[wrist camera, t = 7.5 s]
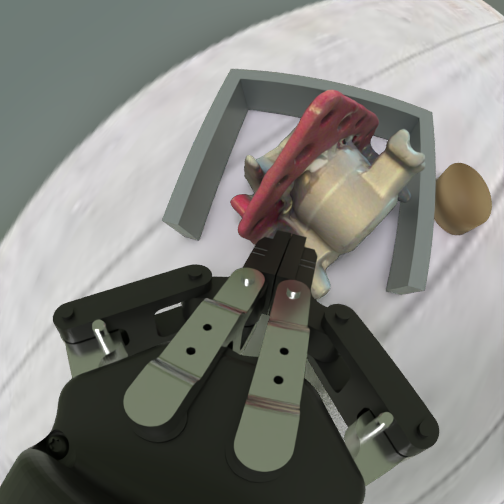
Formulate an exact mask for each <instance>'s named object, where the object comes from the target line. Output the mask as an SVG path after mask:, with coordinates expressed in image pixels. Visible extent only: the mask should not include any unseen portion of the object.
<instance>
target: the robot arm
mask: <svg viewBox="0 0 504 504" xmlns="http://www.w3.org/2000/svg"><path fill="white" fill-rule="evenodd" d="M291 235H292V237H291ZM306 238H307V237H304V236H300V235H296V234H292V233H288V232H284V231H280V230H277V232H276V234H275V236H274V238H273V239H272V238H268V237H264V238H262V239H260V240H259V241H258V242H257V243H256V245H255V247H254V249H253V250H252V253H251V254H250V256H249V257H248V259H247V261H246V263H245V264H244V266H243V268H240V269H237V270H235V271H234V272H233V273H232V274H231V276H230V277H212V273H211V271H210V270H209V269H208V268H207V267H205V266H202V265H188V266H185V267H182V268H178V269H175V270H172V271H169V272H165V273H162V274H159V275H155V276H152V277H149V278H146V279H142V280H139V281H136V282H133V283H129V284H126V285H123V286H119V287H116V288H113V289H110V290H106V291H103V292H100V293H97V294H94V295H90V296H87V297H84V298H81V299H77V300H74V301H71V302H68V303H65V304H63V305H61V306H60V307H58V308H57V310H56V311H55V313H54V315H53V322H54V324H55V326H56V328H57V330H58V332H59V333H60V336H61V338H62V340H63V342H64V343H65V345H66V350H67V355H68V360H69V365H70V370H71V374H72V379H71V380H70V381H69V382H68V383H67V384H66V385H65V386H64V388H63V389H62V391H61V393H60V397H59V401H58V409H57V415H56V419H55V423H54V425H53V428H52V430H51V432H50V433H49V435H48V436H47V437H45V438H44V439H43V440H42V441H40V442H39V443H37V444H36V445H34V446H32V447H30V448H28V449H26V450H25V451H23V452H22V453H21V454H20V455H19V456H18V458H17V459H16V461H15V463H14V464H13V466H12V468H11V469H10V471H9V473H8V474H7V476H6V478H5V479H4V481H3V483H2V484H1V486H0V504H362V503H363V501H364V497H365V486H367V485H368V484H370V483H371V482H373V481H374V480H376V479H377V478H379V477H380V476H382V475H383V474H385V473H386V472H388V471H389V470H391V469H392V468H393V467H395V466H396V465H398V464H399V463H401V462H403V461H405V460H407V459H409V458H411V457H413V456H415V455H417V454H419V453H421V452H423V451H424V450H426V449H428V448H430V447H431V446H433V445H434V444H435V443H436V441H437V439H438V436H439V426H438V423H437V421H436V420H435V418H434V417H433V415H432V414H431V412H430V411H429V410H428V408H427V407H426V405H425V404H424V403H423V401H422V400H421V398H420V397H419V396H418V394H417V393H416V391H415V390H414V389H413V387H412V386H411V385H410V383H409V382H408V380H407V379H406V378H405V376H404V375H403V374H402V372H401V371H400V370H399V368H398V367H397V366H396V364H395V363H394V362H393V360H392V359H391V358H390V356H389V355H388V354H387V352H386V351H385V350H384V349H383V347H382V346H381V345H380V343H379V342H378V341H377V339H376V338H375V337H374V336H373V334H372V333H371V332H370V330H369V329H368V328H367V327H366V325H365V324H364V323H363V322H362V320H361V319H360V318H359V317H358V315H357V314H356V313H355V312H354V311H353V310H352V309H351V308H349V307H348V306H345V305H342V304H333V305H330V306H329V307H325V306H323V305H321V304H320V303H318V302H317V301H316V300H315V299H314V298H313V296H312V294H311V286H312V282H313V277H314V272H315V267H316V262H317V257H318V256H317V254H316V252H315V249H311V248H307V247H305V243H306ZM180 302H181V305H182V306H179V307H176V308H174V309H171V310H168V311H165V312H162V313H159V314H156V315H154V314H155V313H156V312H157V311H158V310H160V309H163V308H166V307H169V306H172V305H174V304H177V303H180ZM269 308H270V310H269ZM268 311H269V316H270V318H269V321H268V324H267V328H266V332H265V336H264V340H263V343H262V347H261V351H260V354H259V357H249V356H242V353H243V351H244V349H245V347H246V345H247V343H248V342H249V340H250V338H251V336H252V334H253V332H254V330H255V328H256V326H257V322H258V320H259V319H260V316H261V314H266V315H267V313H268ZM306 358H308V361H309V363H310V364H311V366H312V368H313V369H314V371H315V373H316V374H317V376H318V378H319V380H320V381H321V383H322V385H323V386H324V388H325V390H326V391H327V393H328V395H329V396H330V398H331V400H332V401H333V403H334V405H335V406H336V408H337V410H338V411H339V413H340V415H341V416H342V418H343V419H344V421H345V423H346V424H347V426H348V428H347V430H346V432H345V435H344V441H345V442H344V441H343V439H342V437H341V435H340V433H339V431H338V429H337V428H336V426H335V424H334V422H333V420H332V418H331V416H330V414H329V413H328V411H327V409H326V407H325V405H324V403H323V401H322V399H321V398H320V396H319V394H318V392H317V391H316V390H315V388H314V387H313V386H312V385H311V384H310V383H309V382H308V381H307V380H306V379H305V378H304V373H305V365H306Z"/></svg>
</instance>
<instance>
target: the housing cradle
mask: <svg viewBox="0 0 504 504" xmlns="http://www.w3.org/2000/svg"><path fill="white" fill-rule="evenodd" d="M327 90H336V91H339V92H340V93H342V94H343V95H345V96H347V97H349V98H351V99H352V100H355V101H356V102H357V103H359V104H361V105H363V106H364V107H365V108H366V109H367V110H369V111H371V112H373V113H374V114H376V116H377V118H378V120H379V124H378V127H377V128H376V130H375V133H374V135H375V136H378V137H381V138H384V139H388V140H389V138H390V137H391V136H393V135H394V134H395V133H397V132H398V131H399V130H402V129H405V130H407V131H408V132H409V135H410V145H411V148H412V149H413V150H414V151H415V152H419V153H423V154H424V155H425V161H424V162H425V168H424V170H423V171H421V172H418V173H416V174H415V175H414V176H413V177H412V178H411V180H410V181H409V182H408V183H407V184H406V187H407V189H408V190H409V192H410V194H411V198H410V200H409V201H408V202H406V203H403V202H400V211H399V219H398V227H397V234H396V241H395V247H394V253H393V259H392V264H391V269H390V274H389V279H388V284H387V289H386V291H388V292H391V293H395V294H399V295H403V294H409V293H414V292H420V291H425V287H426V281H427V275H428V269H429V262H430V254H431V246H432V237H433V226H434V212H435V187H436V165H435V140H434V126H433V116H432V112H430V111H428V110H425V109H423V108H420V107H418V106H415V105H412V104H409V103H407V102H404V101H401V100H398V99H395V98H392V97H389V96H386V95H382V94H379V93H376V92H372V91H369V90H365V89H361V88H357V87H353V86H349V85H345V84H341V83H336V82H332V81H327V80H322V79H317V78H311V77H305V76H299V75H292V74H285V73H277V72H268V71H257V70H244V69H231V70H230V72H229V73H228V75H227V77H226V79H225V81H224V83H223V84H222V86H221V88H220V90H219V92H218V94H217V96H216V98H215V100H214V102H213V104H212V106H211V108H210V110H209V112H208V114H207V116H206V118H205V120H204V122H203V124H202V126H201V128H200V130H199V132H198V135H197V137H196V139H195V141H194V143H193V146H192V148H191V150H190V152H189V155H188V157H187V159H186V161H185V164H184V166H183V168H182V171H181V173H180V176H179V178H178V180H177V183H176V185H175V188H174V190H173V193H172V195H171V198H170V201H169V203H168V206H167V208H166V211H165V214H164V216H163V219H162V221H163V222H165V223H166V224H167V225H169V226H170V227H172V228H173V229H175V230H176V231H177V232H179V233H180V234H182V235H183V236H184V237H187V238H191V239H195V240H198V241H199V239H200V236H201V233H202V230H203V227H204V224H205V221H206V218H207V216H208V213H209V210H210V207H211V204H212V201H213V199H214V196H215V193H216V190H217V188H218V185H219V182H220V179H221V177H222V174H223V171H224V169H225V166H226V163H227V161H228V158H229V156H230V153H231V151H232V148H233V145H234V143H235V140H236V138H237V135H238V133H239V130H240V128H241V125H242V123H243V121H244V118H245V116H246V113H247V111H248V109H249V110H257V111H264V112H271V113H278V114H284V115H290V116H295V117H300V118H301V117H302V115H303V114H304V112H305V110H306V109H307V107H308V106H309V104H310V103H311V102H312V101H313V100H314V99H315V98H316V97H317V96H318V95H320V94H321V93H323V92H325V91H327Z"/></svg>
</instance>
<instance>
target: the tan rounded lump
mask: <svg viewBox="0 0 504 504" xmlns="http://www.w3.org/2000/svg"><path fill="white" fill-rule="evenodd" d="M491 208H492V201H491V195H490V192H489V189H488V187H487V185H486V183H485V181H484V180H483V178H482V177H481V176H480V174H479V173H478V172H477V171H476V170H475V169H473V168H472V167H470V166H468V165H466V164H463V163H454V164H452V165H450V166H449V167H448V168H447V169H446V170H445V171H444V172H443V173H442V175H441V176H440V177H439V178H438V179H437V180H436V187H435V212H434V219H435V221H436V222H437V224H438V225H439V226H440V227H441V228H442V229H443V230H445V231H446V232H448V233H450V234H453V235H462V234H464V233H466V232H468V231H470V230H472V229H474V228H476V227H477V226H479V225H481V224H483V223H484V222H486V221H487V220H488V218H489V216H490V214H491Z"/></svg>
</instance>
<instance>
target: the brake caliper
mask: <svg viewBox="0 0 504 504" xmlns="http://www.w3.org/2000/svg"><path fill="white" fill-rule="evenodd" d="M378 124H379V120H378V118H377V116H376V114H374V113H373V112H371V111H369V110H367V109H366V108H365V107H364V106H363V105H361V104H359V103H357V102H356V101H355V100H352V99H351V98H349V97H347V96H345V95H343V94H342V93H340V92H339V91H336V90H327V91H325V92H323V93H321V94H320V95H318V96H317V97H316V98H315V99H314V100H313V101H312V102H311V103H310V104H309V106H308V107H307V109H306V110H305V112H304V114H303V115H302V117H301V119H300V122H299V124H298V125H297V126H296V127H295V128H294V129H293V130H292V132H291V133H290V134H289V135H288V136H287V137H286V138H285V139H284V140H283V141H282V142H281V143H280V144H279V145H278V146H277V147H276V148H275V149H273V150H272V151H270V152H268V153H267V154H266V155H264V156H262V157H260V158H258V159H256V160H255V159H254V158H253V157H252V156H251V155H248V156H246V159H245V166H244V171H245V175H244V176H245V178H246V179H247V181H248V182H249V184H250V186H251V188H252V189H253V191H254V195H247V194H240V195H237V196H235V197H233V198H232V200H231V201H230V203H231V205H232V207H233V208H234V209H235V210H236V211H237V212H238V213H239V214H240V216H241V217H242V220H241V221H240V223H239V226H238V233H239V235H240V236H241V237H243V238H245V239H248V240H250V241H251V242H252V243H253V244H255V245H256V243H257V242H258V241H259V240H260V239H262V238H264V237H268V238H272V239H273V238H274V236H275V234H276V232H277V230H280V231H284V232H288V233H292V234H296V235H300V236H304V237H307V238H306V243H305V247H307V248H311V249H315V252H316V254H317V256H318V257H317V262H316V267H315V272H314V277H313V282H312V286H311V294H312V296H313V298H315V299H318V298H321V297H322V296H324V295H325V294H327V292H328V291H329V290H330V282H329V280H328V278H327V275H326V272H325V270H326V268H327V267H328V266H329V265H331V264H332V263H333V262H334V261H335V260H336V259H337V258H338V256H339V255H340V254H344V253H348V252H350V251H352V250H354V249H355V248H356V247H357V246H358V245H359V244H360V243H361V242H362V240H363V239H364V238H365V237H366V236H367V235H369V234H370V233H371V232H372V231H373V230H374V228H375V227H376V226H377V225H378V224H379V223H380V222H381V221H382V220H383V219H384V218H385V217H386V216H387V215H388V213H389V212H390V211H391V210H392V209H393V208H394V207H395V205H396V204H397V200H398V201H401V202H403V203H406V202H408V201H409V200H410V198H411V194H410V192H409V190H408V189H407V187H406V184H407V183H408V182H409V181H410V180H411V178H412V177H413V176H414V175H415V174H416V173H418V172H421V171H423V170H424V168H425V162H424V161H425V155H424V154H423V153H419V152H415V151H414V150H413V149H412V148H411V145H410V135H409V132H408V131H407V130H405V129H402V130H399V131H398V132H397V133H395V134H394V135H393V136H391V137H390V138H389V140H388V141H387V145H386V149H385V151H384V152H382V153H381V154H380V155H378V154H377V153H376V152H375V151H374V150H373V149H372V147H371V143H370V141H371V138H372V136H373V135H374V133H375V130H376V128H377V127H378ZM291 237H292V235H291Z"/></svg>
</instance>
